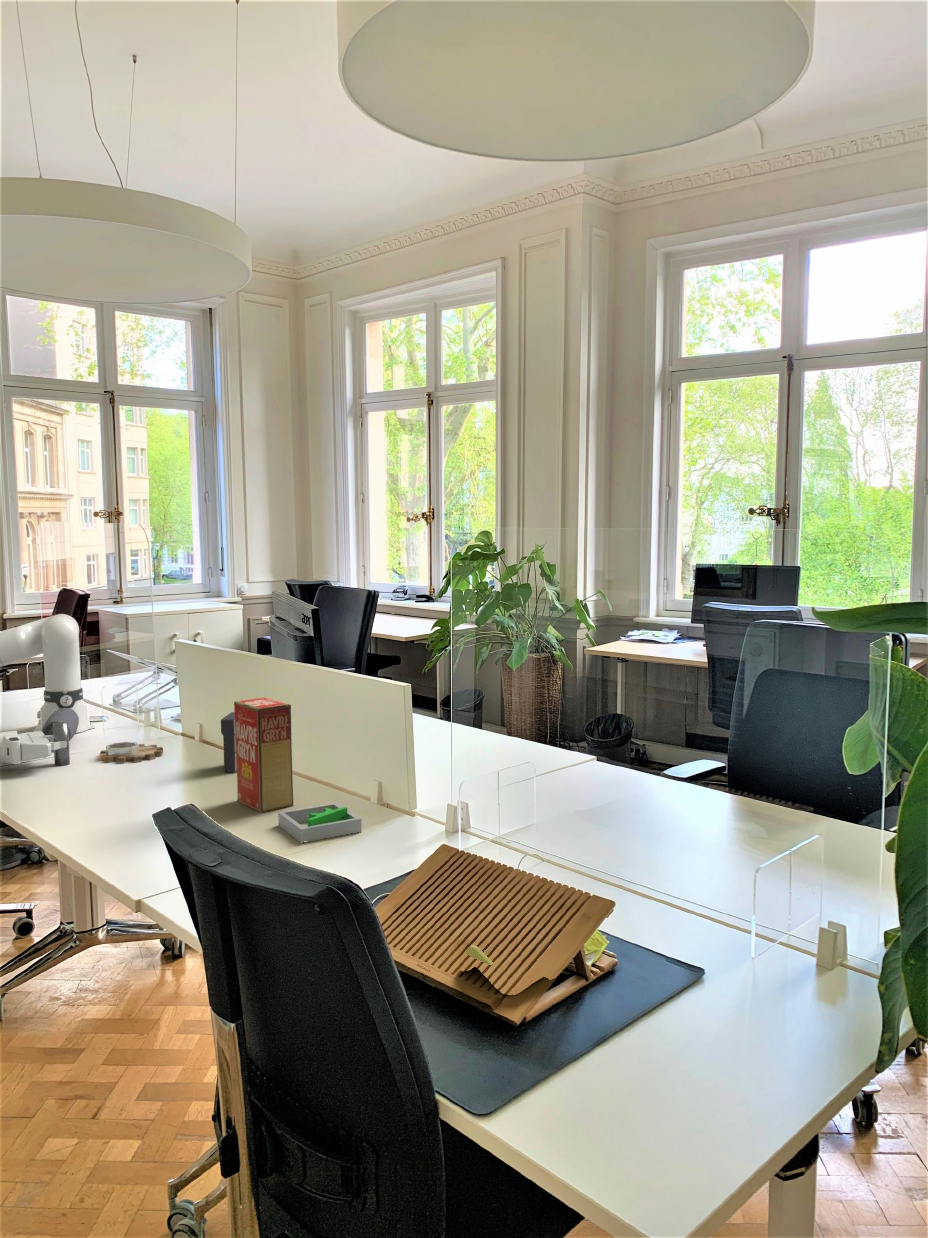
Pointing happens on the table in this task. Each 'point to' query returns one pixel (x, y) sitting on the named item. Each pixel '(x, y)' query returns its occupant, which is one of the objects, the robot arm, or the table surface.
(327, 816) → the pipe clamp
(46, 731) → the bluetooth speaker
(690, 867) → the table surface
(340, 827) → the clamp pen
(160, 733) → the table surface
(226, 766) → the charcoal rounded block
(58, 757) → the pin
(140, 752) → the sprocket
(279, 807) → the food packaging
